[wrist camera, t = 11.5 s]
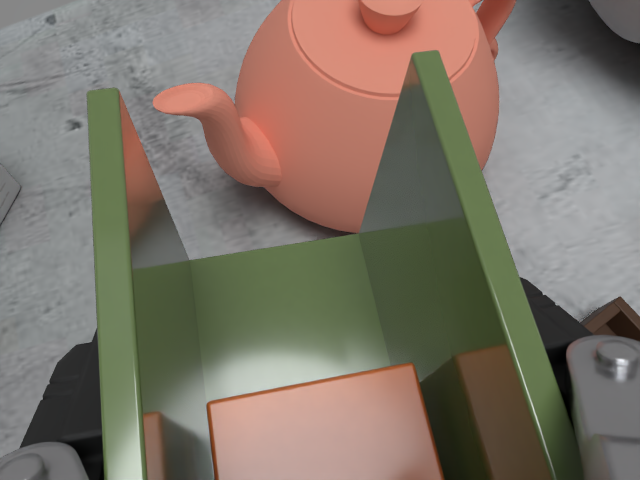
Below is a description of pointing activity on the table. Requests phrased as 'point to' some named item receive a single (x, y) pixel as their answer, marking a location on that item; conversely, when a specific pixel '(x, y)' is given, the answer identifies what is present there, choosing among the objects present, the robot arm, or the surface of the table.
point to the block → (327, 430)
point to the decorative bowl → (620, 17)
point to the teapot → (340, 95)
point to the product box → (7, 191)
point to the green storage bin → (323, 306)
